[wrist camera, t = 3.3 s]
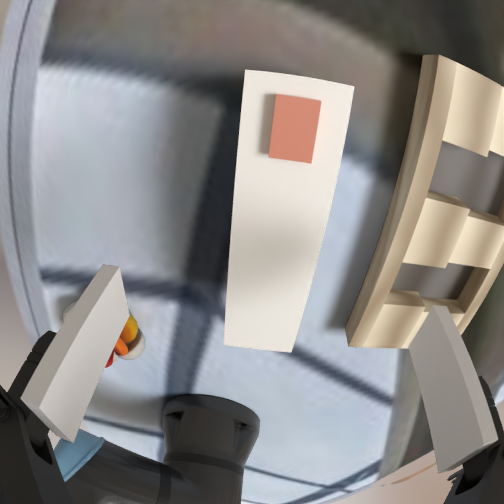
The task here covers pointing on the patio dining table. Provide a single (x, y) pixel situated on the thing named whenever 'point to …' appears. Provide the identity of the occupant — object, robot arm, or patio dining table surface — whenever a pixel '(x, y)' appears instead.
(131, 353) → the rainbow stacked discs
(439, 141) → the square hole board
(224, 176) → the patio dining table surface
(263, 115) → the power strip
